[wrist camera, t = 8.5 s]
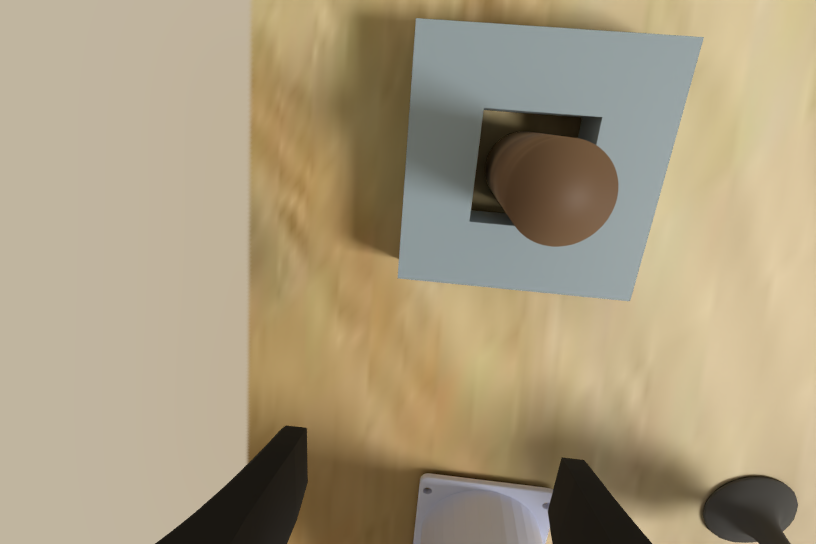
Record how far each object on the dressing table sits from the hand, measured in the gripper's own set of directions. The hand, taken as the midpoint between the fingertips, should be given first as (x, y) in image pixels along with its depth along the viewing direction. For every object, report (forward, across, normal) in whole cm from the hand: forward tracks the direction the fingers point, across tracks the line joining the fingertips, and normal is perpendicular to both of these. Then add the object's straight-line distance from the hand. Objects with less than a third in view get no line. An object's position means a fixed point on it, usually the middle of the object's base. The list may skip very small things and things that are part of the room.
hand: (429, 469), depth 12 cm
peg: (+10, -3, -7) cm, 13 cm away
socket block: (+10, -3, -8) cm, 13 cm away
